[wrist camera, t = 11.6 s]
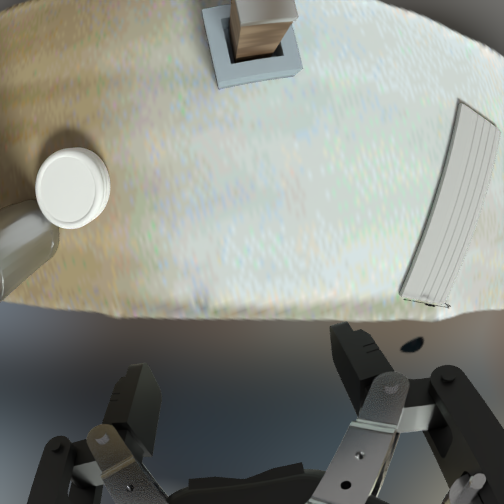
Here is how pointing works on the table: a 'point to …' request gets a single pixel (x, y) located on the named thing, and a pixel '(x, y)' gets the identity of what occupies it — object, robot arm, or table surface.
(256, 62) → the grey square collar
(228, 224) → the table surface
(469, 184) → the baseboard
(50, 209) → the white round disc
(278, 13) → the rail post
